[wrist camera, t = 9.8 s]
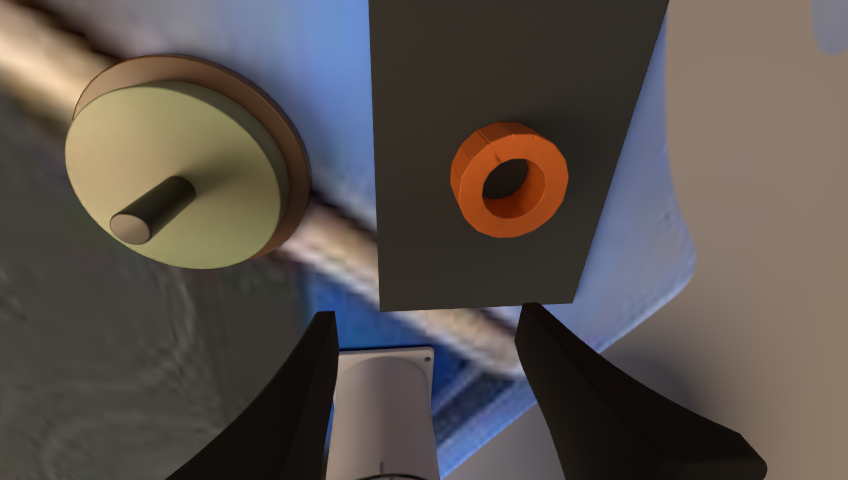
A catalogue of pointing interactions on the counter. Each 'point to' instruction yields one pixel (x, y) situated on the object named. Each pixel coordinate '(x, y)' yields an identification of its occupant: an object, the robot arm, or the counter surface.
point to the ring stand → (187, 162)
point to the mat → (486, 104)
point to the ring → (526, 203)
